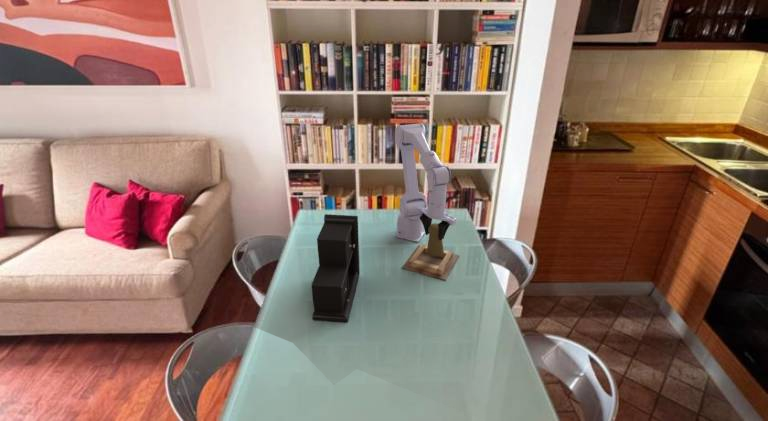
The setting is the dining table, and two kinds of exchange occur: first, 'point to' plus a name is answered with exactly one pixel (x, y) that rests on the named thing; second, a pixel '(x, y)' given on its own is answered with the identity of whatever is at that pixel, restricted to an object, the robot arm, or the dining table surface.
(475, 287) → the dining table surface
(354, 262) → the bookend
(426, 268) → the socket block
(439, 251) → the cork
